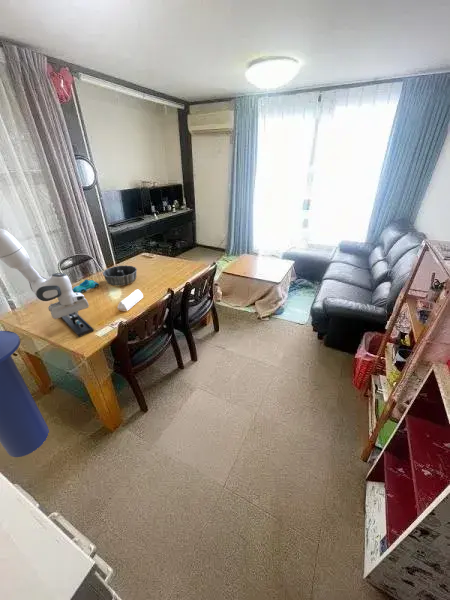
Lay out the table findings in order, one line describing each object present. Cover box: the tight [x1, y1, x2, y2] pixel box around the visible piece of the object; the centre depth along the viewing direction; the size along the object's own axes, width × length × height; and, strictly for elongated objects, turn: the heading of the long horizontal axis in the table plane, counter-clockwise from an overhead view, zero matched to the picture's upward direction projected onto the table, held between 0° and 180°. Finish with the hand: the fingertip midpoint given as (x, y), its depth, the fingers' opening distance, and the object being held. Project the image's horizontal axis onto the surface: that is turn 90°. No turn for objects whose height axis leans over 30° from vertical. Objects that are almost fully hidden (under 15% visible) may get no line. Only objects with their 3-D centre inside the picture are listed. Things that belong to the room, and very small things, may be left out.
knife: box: [69, 314, 84, 328], centre depth 157 cm, size 31×3×4 cm, turn 43°
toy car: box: [72, 279, 100, 294], centre depth 199 cm, size 11×18×7 cm, turn 151°
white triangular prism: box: [116, 288, 144, 312], centre depth 178 cm, size 7×7×24 cm
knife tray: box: [60, 312, 94, 338], centre depth 158 cm, size 8×35×2 cm, turn 47°
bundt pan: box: [102, 264, 138, 287], centre depth 210 cm, size 26×26×10 cm
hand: (73, 318), depth 157 cm, fingers closed on knife
